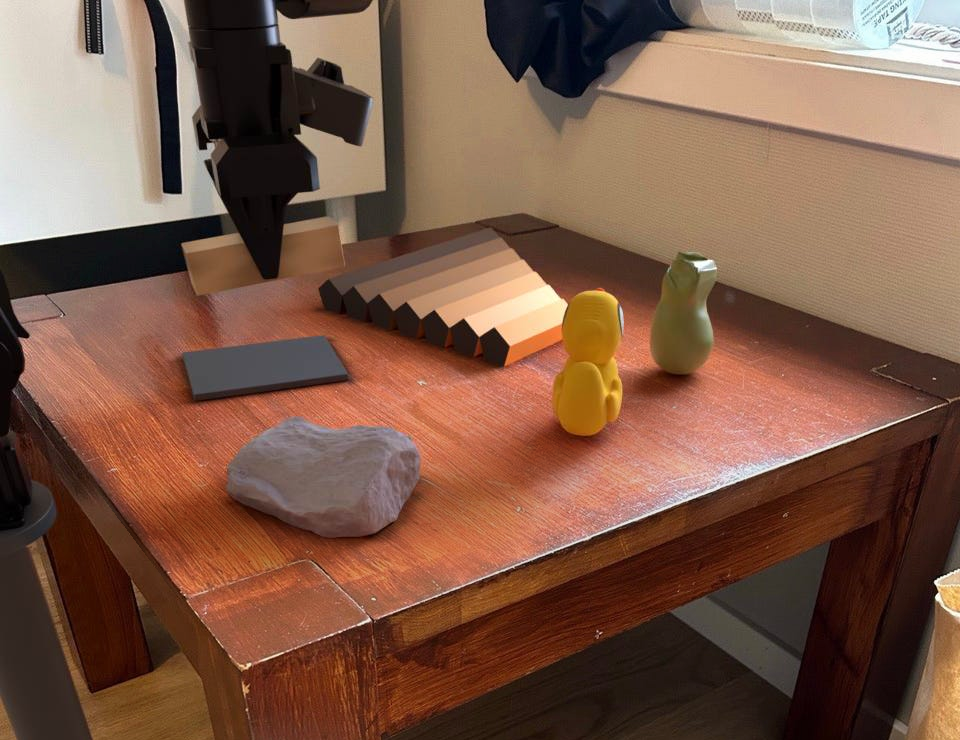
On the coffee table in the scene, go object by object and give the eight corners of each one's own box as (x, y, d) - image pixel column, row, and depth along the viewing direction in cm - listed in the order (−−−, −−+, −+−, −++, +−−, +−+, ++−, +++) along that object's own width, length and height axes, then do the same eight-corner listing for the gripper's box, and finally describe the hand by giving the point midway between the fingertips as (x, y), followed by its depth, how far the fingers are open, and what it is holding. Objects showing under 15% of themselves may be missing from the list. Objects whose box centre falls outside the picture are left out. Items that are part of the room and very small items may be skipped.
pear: (665, 355, 88) (678, 241, 82) (719, 368, 85) (736, 251, 79) (635, 375, 84) (647, 256, 78) (692, 389, 82) (707, 268, 76)
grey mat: (194, 401, 80) (193, 394, 80) (183, 358, 88) (182, 352, 87) (348, 380, 83) (348, 373, 83) (324, 340, 91) (324, 334, 91)
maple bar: (197, 296, 69) (186, 253, 67) (191, 284, 72) (180, 242, 70) (345, 266, 72) (338, 224, 70) (335, 256, 74) (328, 215, 72)
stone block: (378, 568, 63) (432, 473, 69) (363, 511, 59) (422, 416, 65) (219, 542, 66) (284, 454, 72) (197, 487, 63) (267, 399, 69)
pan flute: (479, 254, 114) (320, 309, 99) (479, 224, 112) (316, 275, 97) (661, 298, 101) (509, 369, 86) (664, 265, 99) (510, 331, 84)
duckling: (560, 392, 81) (566, 270, 75) (625, 396, 80) (635, 274, 74) (541, 452, 72) (545, 319, 66) (613, 458, 71) (624, 324, 65)
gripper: (390, 34, 57) (405, 299, 66) (329, 9, 71) (348, 229, 81) (197, 43, 54) (240, 318, 64) (174, 15, 69) (212, 242, 78)
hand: (267, 272), depth 72 cm, fingers closed on maple bar, 3 cm apart
